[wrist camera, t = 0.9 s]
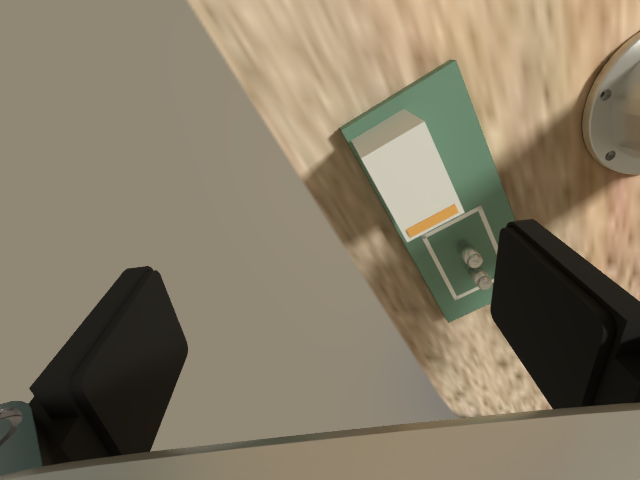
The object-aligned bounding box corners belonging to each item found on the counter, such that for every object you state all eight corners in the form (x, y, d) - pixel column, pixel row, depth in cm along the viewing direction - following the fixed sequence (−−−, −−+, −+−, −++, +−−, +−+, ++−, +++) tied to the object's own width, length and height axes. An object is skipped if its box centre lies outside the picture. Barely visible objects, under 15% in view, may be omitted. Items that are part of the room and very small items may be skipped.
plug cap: (350, 140, 30) (361, 158, 25) (403, 108, 29) (424, 121, 24) (391, 213, 34) (407, 243, 29) (440, 187, 33) (465, 213, 28)
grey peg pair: (452, 243, 35) (467, 262, 32) (466, 236, 35) (482, 255, 32) (467, 274, 37) (482, 295, 34) (480, 267, 37) (497, 288, 34)
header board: (339, 127, 31) (341, 130, 30) (450, 59, 29) (456, 60, 28) (444, 315, 41) (448, 323, 40) (531, 275, 39) (538, 281, 38)
